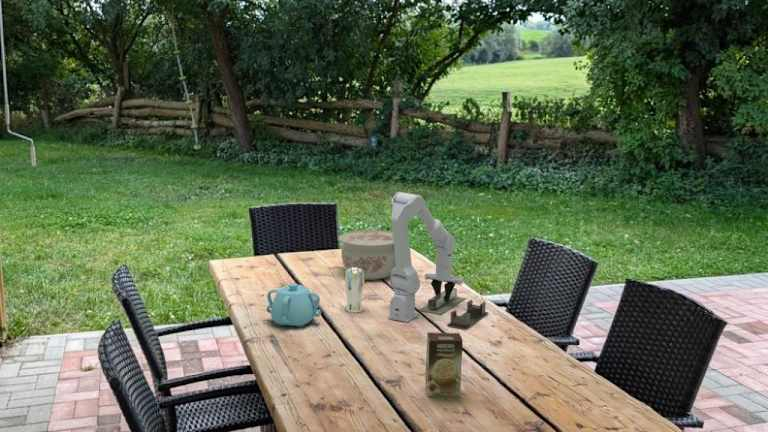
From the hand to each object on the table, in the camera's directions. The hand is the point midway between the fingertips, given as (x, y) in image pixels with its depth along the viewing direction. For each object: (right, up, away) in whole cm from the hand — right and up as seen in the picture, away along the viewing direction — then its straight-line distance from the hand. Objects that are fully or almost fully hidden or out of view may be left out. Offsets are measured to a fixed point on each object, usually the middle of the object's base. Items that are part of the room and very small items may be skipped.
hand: (442, 300), depth 282 cm
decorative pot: (-53, -5, -20) cm, 57 cm away
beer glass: (-33, -3, -6) cm, 33 cm away
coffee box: (-6, -17, -75) cm, 77 cm away
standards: (+8, -5, -16) cm, 19 cm away
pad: (0, -2, 0) cm, 2 cm away
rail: (0, -1, 0) cm, 1 cm away
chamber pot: (-28, +6, +38) cm, 47 cm away
